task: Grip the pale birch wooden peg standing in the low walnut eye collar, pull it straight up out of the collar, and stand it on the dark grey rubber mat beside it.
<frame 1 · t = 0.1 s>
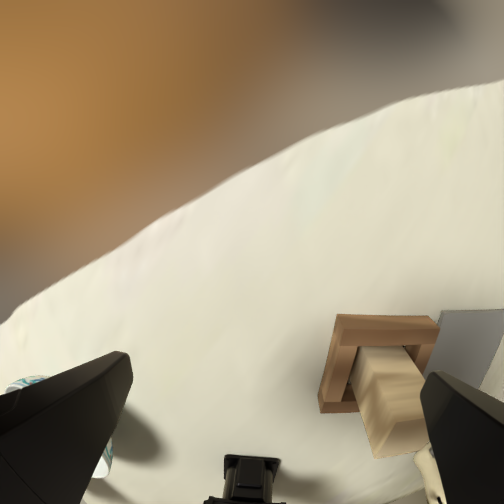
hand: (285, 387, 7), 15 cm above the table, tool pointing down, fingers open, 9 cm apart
eye collar: (373, 359, 23), on the table
peg: (390, 393, 18), in the eye collar
rubber mat: (457, 367, 23), on the table
beer glass: (431, 449, 27), on the table
chinaware: (81, 398, 28), on the table
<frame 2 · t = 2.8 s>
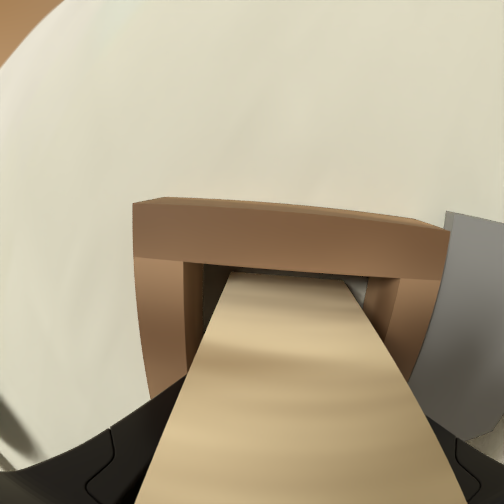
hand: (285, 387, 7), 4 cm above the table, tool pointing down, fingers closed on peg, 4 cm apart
eye collar: (282, 326, 11), on the table
peg: (286, 424, 6), in the eye collar, touching gripper
rubber mat: (485, 357, 10), on the table
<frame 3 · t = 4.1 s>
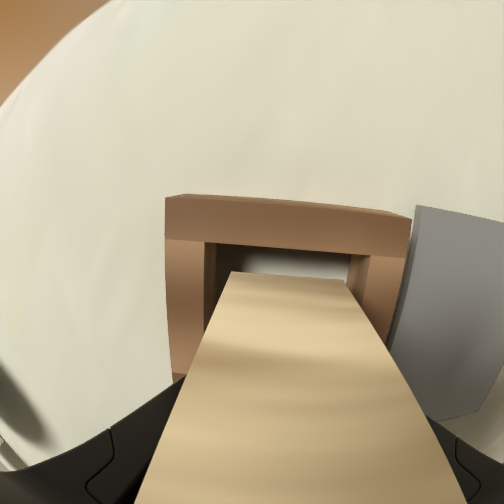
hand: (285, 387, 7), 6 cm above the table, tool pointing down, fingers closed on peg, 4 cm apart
eye collar: (279, 299, 13), on the table
peg: (286, 424, 6), point 8 cm above the table, touching gripper
rubber mat: (462, 336, 13), on the table
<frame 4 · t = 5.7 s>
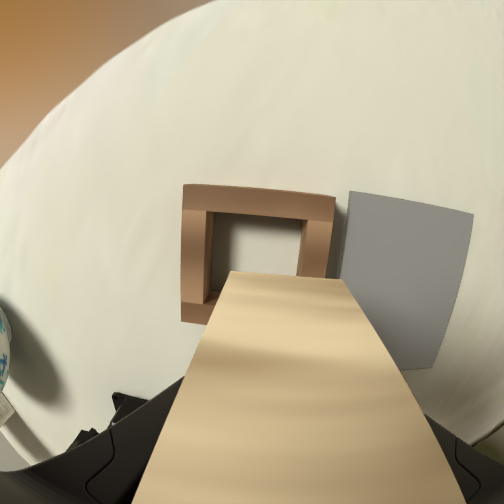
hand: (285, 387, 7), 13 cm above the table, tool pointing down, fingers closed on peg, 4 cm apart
eye collar: (255, 254, 20), on the table
peg: (285, 424, 6), point 14 cm above the table, touching gripper
rubber mat: (401, 292, 20), on the table
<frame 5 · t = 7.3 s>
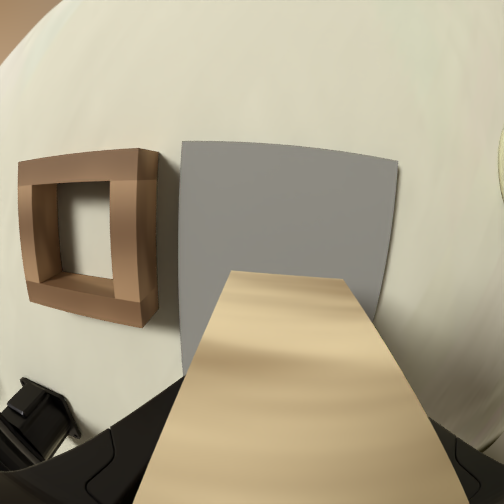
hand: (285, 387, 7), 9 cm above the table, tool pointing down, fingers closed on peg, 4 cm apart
eye collar: (91, 230, 15), on the table
peg: (286, 424, 6), point 10 cm above the table, touching gripper
rubber mat: (281, 280, 15), on the table
when the fingers open (5 cm above the table, at t = 8.6 s): peg stays where it is, resting on rubber mat.
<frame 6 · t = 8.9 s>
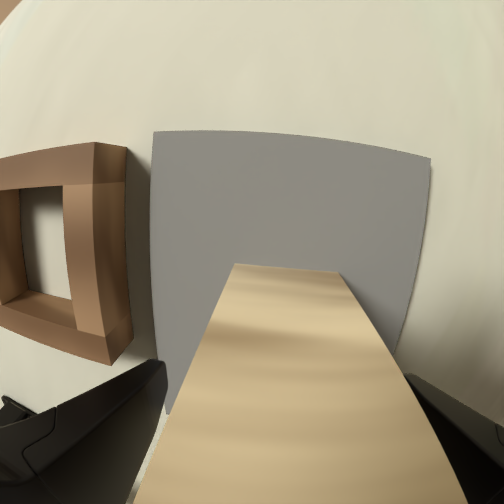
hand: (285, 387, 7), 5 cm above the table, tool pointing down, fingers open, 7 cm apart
eye collar: (54, 243, 12), on the table
peg: (285, 400, 7), on the rubber mat, point 6 cm above the table
rubber mat: (282, 309, 12), on the table
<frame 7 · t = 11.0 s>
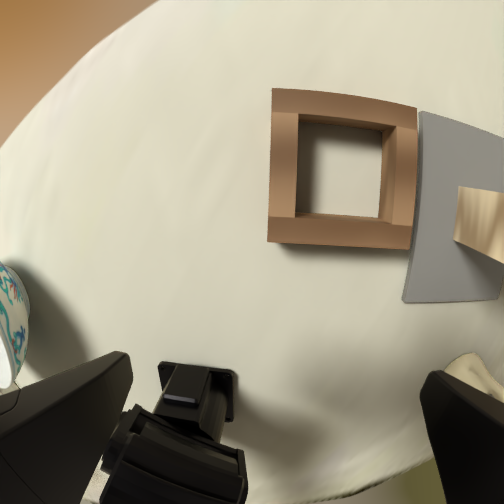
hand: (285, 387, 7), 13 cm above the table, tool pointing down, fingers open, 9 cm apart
eye collar: (339, 169, 18), on the table
rubber mat: (470, 215, 17), on the table
beer glass: (457, 375, 21), on the table
chinaware: (13, 293, 23), on the table
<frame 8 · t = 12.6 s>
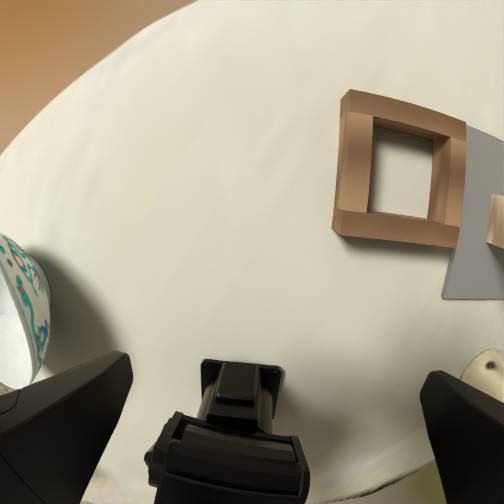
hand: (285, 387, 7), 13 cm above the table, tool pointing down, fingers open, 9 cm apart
eye collar: (397, 171, 18), on the table
rubber mat: (498, 220, 18), on the table
beer glass: (478, 370, 22), on the table
chinaware: (30, 284, 22), on the table
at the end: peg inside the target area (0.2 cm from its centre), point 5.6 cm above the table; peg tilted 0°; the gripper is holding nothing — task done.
